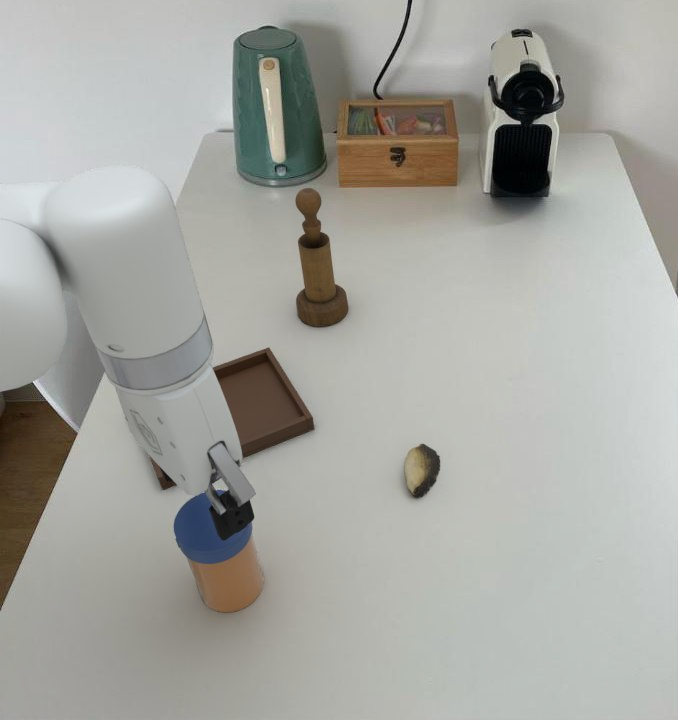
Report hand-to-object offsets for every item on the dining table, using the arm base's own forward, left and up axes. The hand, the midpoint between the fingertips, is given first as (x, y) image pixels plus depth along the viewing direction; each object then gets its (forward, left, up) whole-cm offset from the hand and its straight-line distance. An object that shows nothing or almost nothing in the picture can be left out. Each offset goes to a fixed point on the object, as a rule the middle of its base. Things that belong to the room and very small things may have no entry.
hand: (208, 498), depth 68 cm
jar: (0, 0, -13) cm, 13 cm away
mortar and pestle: (+24, +33, -13) cm, 43 cm away
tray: (+6, +21, -13) cm, 25 cm away
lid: (0, 0, -3) cm, 3 cm away
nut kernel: (+22, +3, -13) cm, 26 cm away
